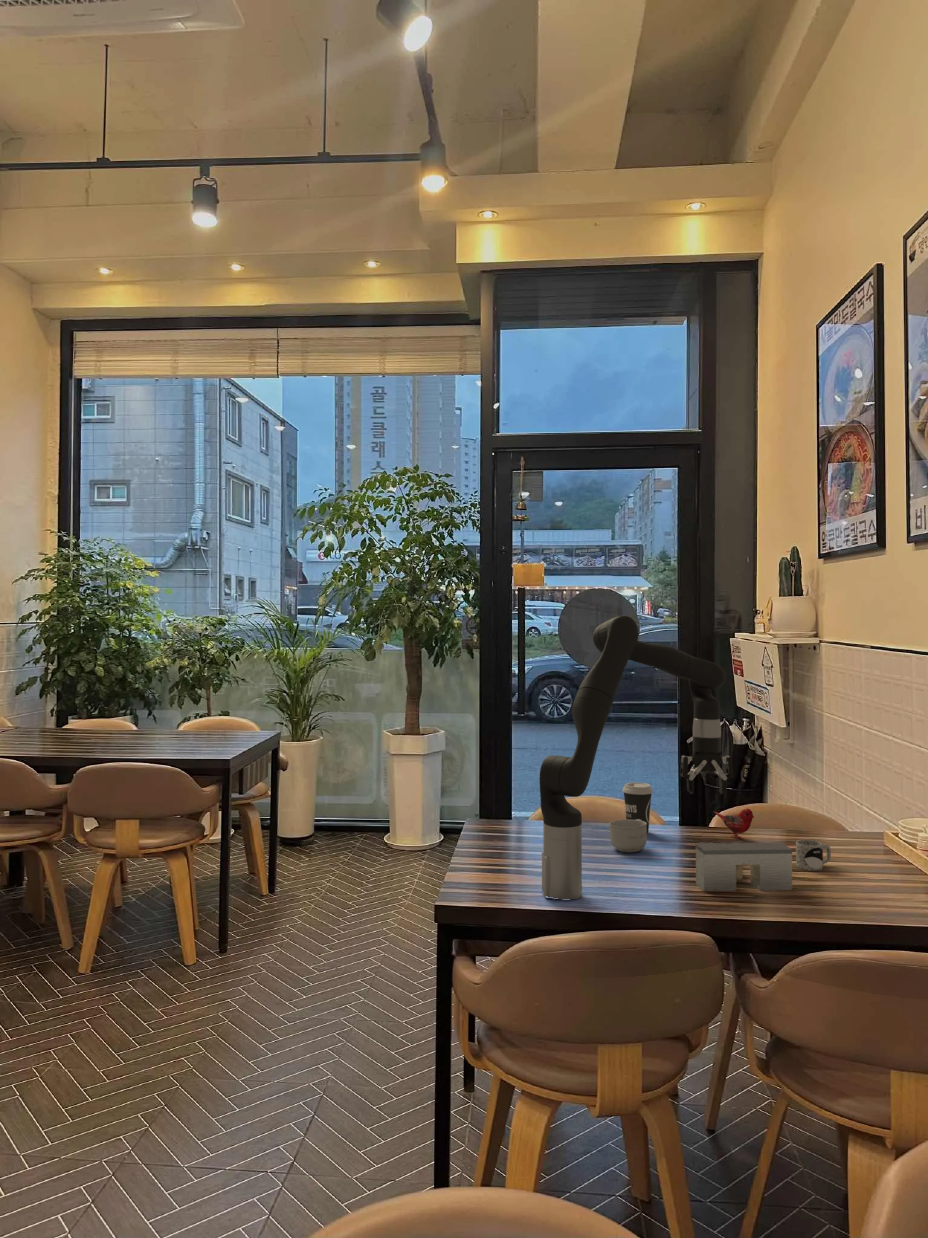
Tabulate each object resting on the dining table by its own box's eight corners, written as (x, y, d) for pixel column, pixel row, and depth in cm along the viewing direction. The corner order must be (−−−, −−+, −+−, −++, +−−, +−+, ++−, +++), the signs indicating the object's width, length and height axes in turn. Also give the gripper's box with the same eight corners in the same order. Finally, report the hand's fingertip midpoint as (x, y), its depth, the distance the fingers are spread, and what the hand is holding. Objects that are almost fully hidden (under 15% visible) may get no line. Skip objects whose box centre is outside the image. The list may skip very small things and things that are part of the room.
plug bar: (726, 880, 207) (726, 865, 207) (698, 856, 229) (698, 842, 229) (742, 880, 207) (742, 864, 207) (712, 856, 229) (712, 842, 229)
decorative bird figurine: (750, 844, 242) (750, 810, 242) (709, 831, 258) (709, 799, 258) (758, 843, 243) (757, 810, 243) (717, 830, 259) (717, 798, 259)
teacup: (631, 857, 228) (631, 828, 228) (601, 849, 236) (601, 822, 236) (660, 848, 237) (660, 821, 237) (630, 841, 245) (630, 814, 245)
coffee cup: (630, 827, 263) (629, 781, 263) (658, 831, 257) (657, 784, 257) (617, 833, 255) (617, 785, 255) (645, 837, 249) (645, 789, 249)
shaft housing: (704, 891, 198) (704, 850, 198) (695, 883, 204) (695, 843, 204) (792, 890, 199) (792, 849, 199) (781, 882, 205) (780, 842, 205)
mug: (807, 872, 214) (807, 847, 214) (790, 865, 221) (790, 840, 221) (839, 869, 217) (838, 844, 217) (821, 862, 223) (821, 838, 223)
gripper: (726, 733, 230) (726, 791, 229) (677, 733, 229) (677, 791, 229) (737, 736, 222) (736, 796, 222) (685, 736, 221) (685, 796, 221)
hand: (706, 793), depth 225 cm, fingers open, 8 cm apart
